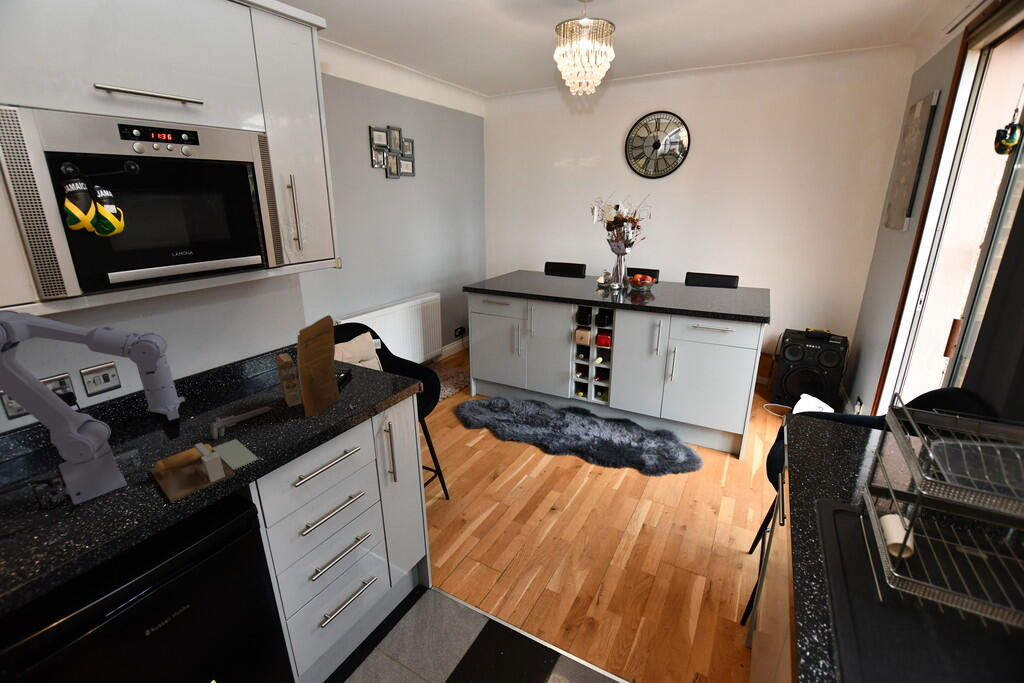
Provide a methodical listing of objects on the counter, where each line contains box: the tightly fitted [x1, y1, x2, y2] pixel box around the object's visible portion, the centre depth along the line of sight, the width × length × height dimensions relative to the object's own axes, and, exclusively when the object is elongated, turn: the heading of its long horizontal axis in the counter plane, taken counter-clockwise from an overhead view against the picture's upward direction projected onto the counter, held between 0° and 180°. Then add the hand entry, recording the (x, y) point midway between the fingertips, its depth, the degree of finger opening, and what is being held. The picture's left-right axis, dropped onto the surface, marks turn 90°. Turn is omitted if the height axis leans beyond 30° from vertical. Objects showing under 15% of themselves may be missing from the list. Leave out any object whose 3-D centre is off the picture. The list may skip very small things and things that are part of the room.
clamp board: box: [149, 450, 235, 503], centre depth 113 cm, size 13×19×3 cm
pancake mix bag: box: [296, 315, 341, 418], centre depth 143 cm, size 7×19×28 cm, turn 164°
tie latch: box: [194, 442, 225, 482], centre depth 111 cm, size 3×11×6 cm, turn 48°
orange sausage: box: [154, 443, 213, 472], centre depth 114 cm, size 12×3×3 cm, turn 138°
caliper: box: [210, 406, 273, 440], centre depth 137 cm, size 20×1×6 cm, turn 162°
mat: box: [212, 438, 259, 471], centre depth 121 cm, size 6×16×1 cm, turn 48°
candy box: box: [274, 352, 303, 408], centre depth 149 cm, size 9×4×15 cm, turn 36°
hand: (174, 437), depth 112 cm, fingers closed
